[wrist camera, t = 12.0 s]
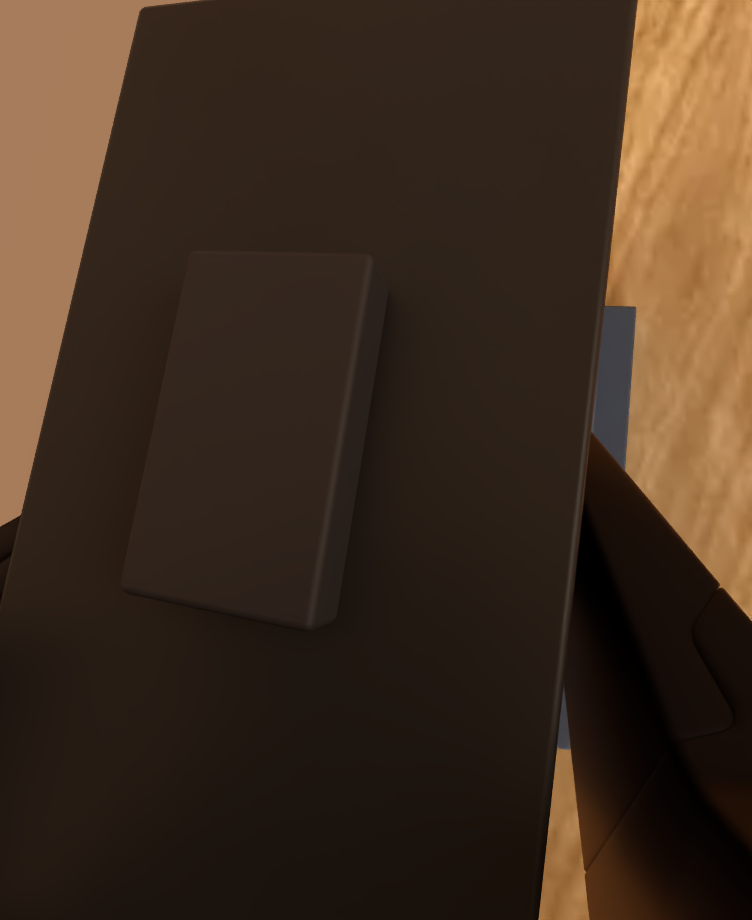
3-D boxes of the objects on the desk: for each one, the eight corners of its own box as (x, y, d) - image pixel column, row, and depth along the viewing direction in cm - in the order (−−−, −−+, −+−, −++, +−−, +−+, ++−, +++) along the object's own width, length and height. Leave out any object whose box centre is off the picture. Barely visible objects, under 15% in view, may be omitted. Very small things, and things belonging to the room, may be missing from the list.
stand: (601, 725, 17) (617, 760, 15) (271, 669, 20) (242, 693, 17) (630, 314, 18) (650, 288, 16) (305, 307, 20) (281, 284, 18)
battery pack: (553, 382, 16) (663, -143, 4) (516, 695, 15) (511, 1301, 3) (383, 369, 18) (76, -52, 5) (338, 655, 17) (-180, 951, 4)
